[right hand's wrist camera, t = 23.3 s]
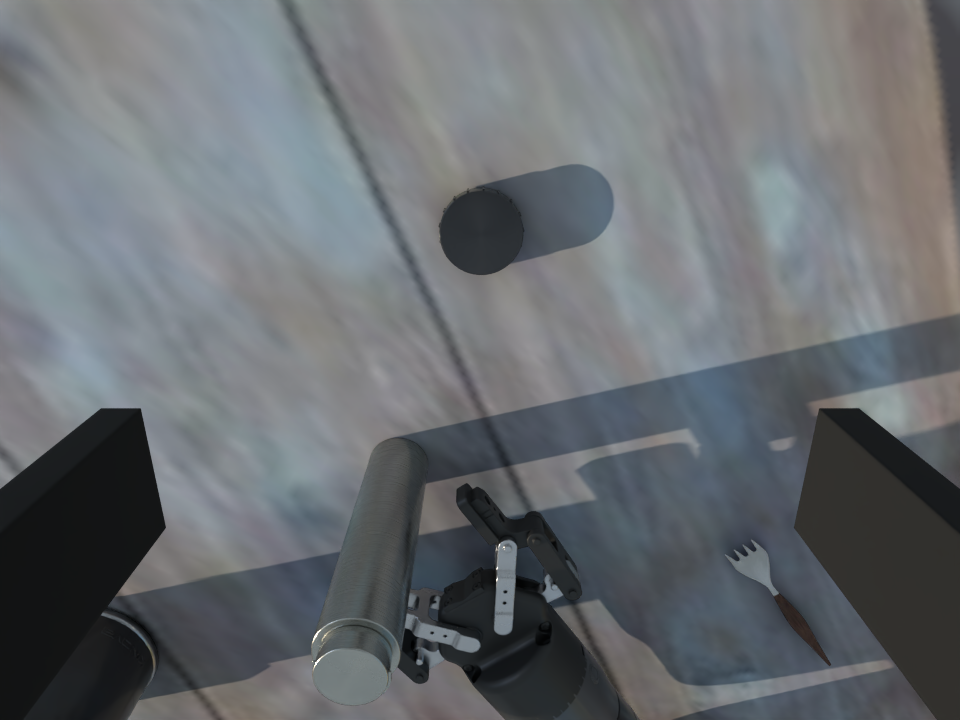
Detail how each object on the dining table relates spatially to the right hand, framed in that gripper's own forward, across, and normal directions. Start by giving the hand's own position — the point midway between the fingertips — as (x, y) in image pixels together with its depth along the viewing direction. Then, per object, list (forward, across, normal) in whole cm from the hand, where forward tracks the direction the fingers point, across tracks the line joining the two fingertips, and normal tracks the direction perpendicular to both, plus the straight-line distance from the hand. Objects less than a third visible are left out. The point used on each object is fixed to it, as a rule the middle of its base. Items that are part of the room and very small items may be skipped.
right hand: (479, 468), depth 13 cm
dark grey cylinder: (+29, -6, -17) cm, 34 cm away
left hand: (+24, -5, -18) cm, 30 cm away
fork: (+29, +23, -29) cm, 47 cm away
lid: (+28, 0, 0) cm, 28 cm away
